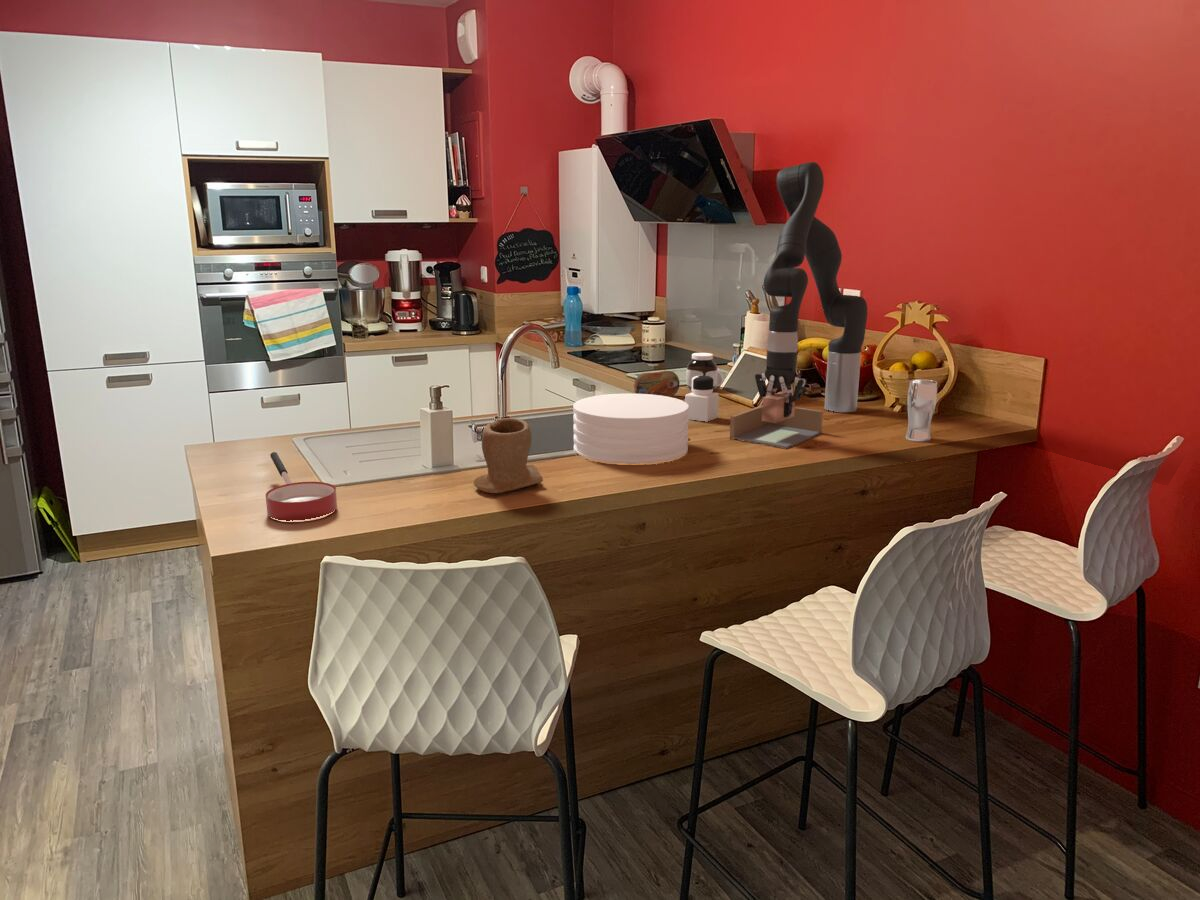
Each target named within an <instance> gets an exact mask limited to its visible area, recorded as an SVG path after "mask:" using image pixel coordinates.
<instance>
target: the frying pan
mask: <svg viewBox="0 0 1200 900" xmlns="http://www.w3.org/2000/svg"><path fill="white" fill-rule="evenodd" d="M269 455H270V459H271V460H272V462H273V464H274V466H275V467H276V469H277V470H276V471H278V474H279V475H280V477H282V478H283V481H284V482H285V484H283V485H277V486H276V487H272V488H271V489H269V490H268V491H267V492H266V493H265V504H266V513H267V514H266V515H267V516H268V515H269V516H270V517H272V518H275V519H278V520H286V521H290V520H292V521H293V520H305V519H311V518H316V517H320V516H323V515H326V514H329V513H331V512H333V511H334V510H335V509H336V508H337V509H338V502H337V501H338V500H337V498H338V497H337V490H336V489H337V488H336V486H335V485H333V484H331V483H328V482H321V481H301V482H292V480H291V479H290V477H289V475H288V473H289V472H288V471H287V469H286V467H285V465H284V463H283V462H282V460H281V458H280V456H279V455H278V453H277V452H276V451H273V452H271V453H270V454H269ZM337 509H336V510H337ZM269 516H268V517H269Z"/></svg>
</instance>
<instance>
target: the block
mask: <svg viewBox="0 0 1200 900" xmlns="http://www.w3.org/2000/svg"><path fill="white" fill-rule="evenodd" d="M784 403H785V399H784V395H783V393H782V390H781V391H779V392H777V393H776V392H775V394H772V395H769V396H766V397H762V405H763V406H762V421H766V422H772V423H778V422H780V421H783V420H785V419H788V418H791V417H793V416H794V412H795V407H796V401H795V402H793V403H792V413H791V415H790V416H789V417H784Z"/></svg>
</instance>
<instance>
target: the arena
mask: <svg viewBox="0 0 1200 900" xmlns="http://www.w3.org/2000/svg"><path fill="white" fill-rule="evenodd" d="M762 406H763V404H762V405H759V406H756V407H753V408H750V409H747V410H744V411H742V412H738V413H735V414H733V415H730V425H729V439H730V438H734V439H739V440H744V441H743V442H745V441H750V442H755V443H754V444H756V443H760V444H759V445H761V444H765V445H764V446H767V445H772V446H771V447H773V446H778V447H783V448H782V449H784V448H787V449H789V448H791V447H790V446H792V445H794V446H796V445H798V444H800V443H799V442H801V443H803V442H805V441H807V440H810V439H812V438H814V437H816V435H817V436H819V435H821V434H822V433H823V431H822V428H823V415H824V414H823V413H824V411H823V410H819V409H818V410H817V409H809V408H805V407H804V408H803V407H799V406H798V407H796V406H795V412H794V416H793V417H791V418H788V419H785V420H783V421H780V422H778V423H772V422H766V421H762ZM820 433H821V434H820ZM818 434H819V435H818ZM813 436H814V437H813ZM811 437H812V438H811ZM809 438H810V439H809ZM806 439H807V440H806ZM739 440H738V441H739ZM804 440H805V441H804ZM802 441H803V442H802ZM750 442H749V443H750ZM797 443H798V444H797ZM795 444H796V445H795ZM778 447H777V448H778ZM788 447H789V448H788ZM792 447H793V446H792Z"/></svg>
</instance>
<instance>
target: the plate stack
mask: <svg viewBox="0 0 1200 900" xmlns="http://www.w3.org/2000/svg"><path fill="white" fill-rule="evenodd" d="M572 406H573V407H572V408H573V409H572V410H573V416H572V417H573V418H572V419H573V420H572V421H573V425H572V427H573V428H572V429H573V430H572V431H573V436H572V437H573V440H572V441H573V452H574V451H577V452H576V453H578V454H579V455H581V456H583V457H585V458H588V459H592V460H597V461H604V462H611V463H626V464H637V463H638V464H640V463H655V462H662V461H668V460H673V459H676V458H679V457H681V456H683V455H684V454H686V453H687V454H688V452H687V451H689V450H688V448H689V446H688V444H689V443H688V442H689V435H688V433H689V421H690V420H689V416H688V412H689V405H688V404H687V403H686V402H685V400H684V401H683V400H682V399H679V398H675V397H673V396H672V397H667V396H661V395H652V394H636V393H609V394H599V395H593V396H588V397H584V398H582V399H579V400H577V401H575V402H574V403H573V405H572ZM579 450H581V451H579ZM687 454H686V455H687Z"/></svg>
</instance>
